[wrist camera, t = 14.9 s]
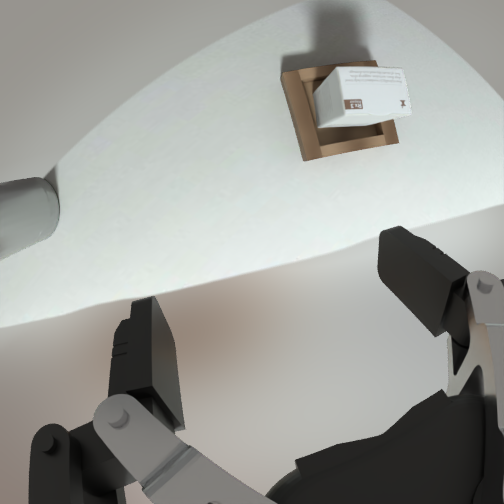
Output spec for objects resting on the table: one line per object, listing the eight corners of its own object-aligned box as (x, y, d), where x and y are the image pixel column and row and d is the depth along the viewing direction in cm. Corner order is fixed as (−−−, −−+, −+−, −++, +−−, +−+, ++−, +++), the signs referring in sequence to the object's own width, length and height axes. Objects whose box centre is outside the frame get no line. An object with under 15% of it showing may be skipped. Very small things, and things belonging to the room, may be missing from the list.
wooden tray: (303, 160, 34) (307, 160, 31) (280, 79, 31) (282, 72, 28) (388, 144, 33) (399, 143, 30) (367, 67, 30) (375, 60, 27)
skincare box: (360, 91, 30) (406, 63, 18) (366, 128, 31) (416, 115, 20) (309, 93, 30) (335, 60, 19) (315, 131, 32) (345, 116, 20)
